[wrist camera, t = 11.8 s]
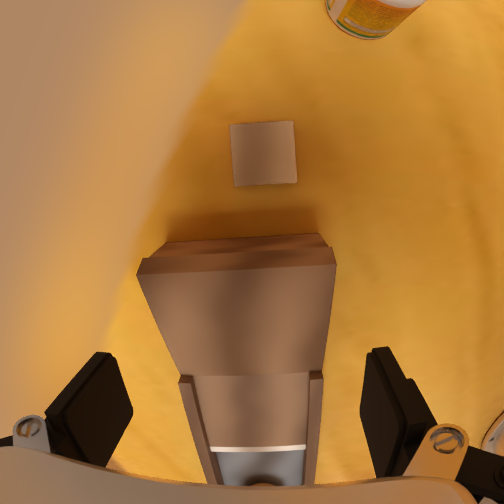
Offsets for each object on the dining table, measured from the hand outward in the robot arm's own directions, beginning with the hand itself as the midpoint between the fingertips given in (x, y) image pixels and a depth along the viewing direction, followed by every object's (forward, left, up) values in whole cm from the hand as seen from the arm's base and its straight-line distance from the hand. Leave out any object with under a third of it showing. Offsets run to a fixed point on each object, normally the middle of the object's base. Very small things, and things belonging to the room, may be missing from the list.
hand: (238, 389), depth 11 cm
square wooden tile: (-1, -8, -13) cm, 15 cm away
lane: (+1, +14, -13) cm, 19 cm away
